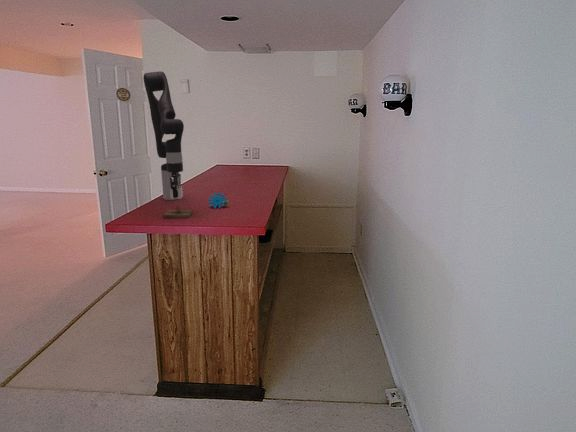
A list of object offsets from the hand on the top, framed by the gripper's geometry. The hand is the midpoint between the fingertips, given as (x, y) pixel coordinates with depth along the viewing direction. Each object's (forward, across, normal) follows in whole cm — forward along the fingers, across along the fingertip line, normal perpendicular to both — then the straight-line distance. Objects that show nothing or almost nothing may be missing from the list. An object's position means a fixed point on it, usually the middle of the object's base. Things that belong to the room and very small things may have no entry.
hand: (176, 196), depth 200 cm
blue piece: (+10, -17, +18) cm, 27 cm away
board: (+10, 0, 0) cm, 10 cm away
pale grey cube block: (+1, 0, 0) cm, 1 cm away
